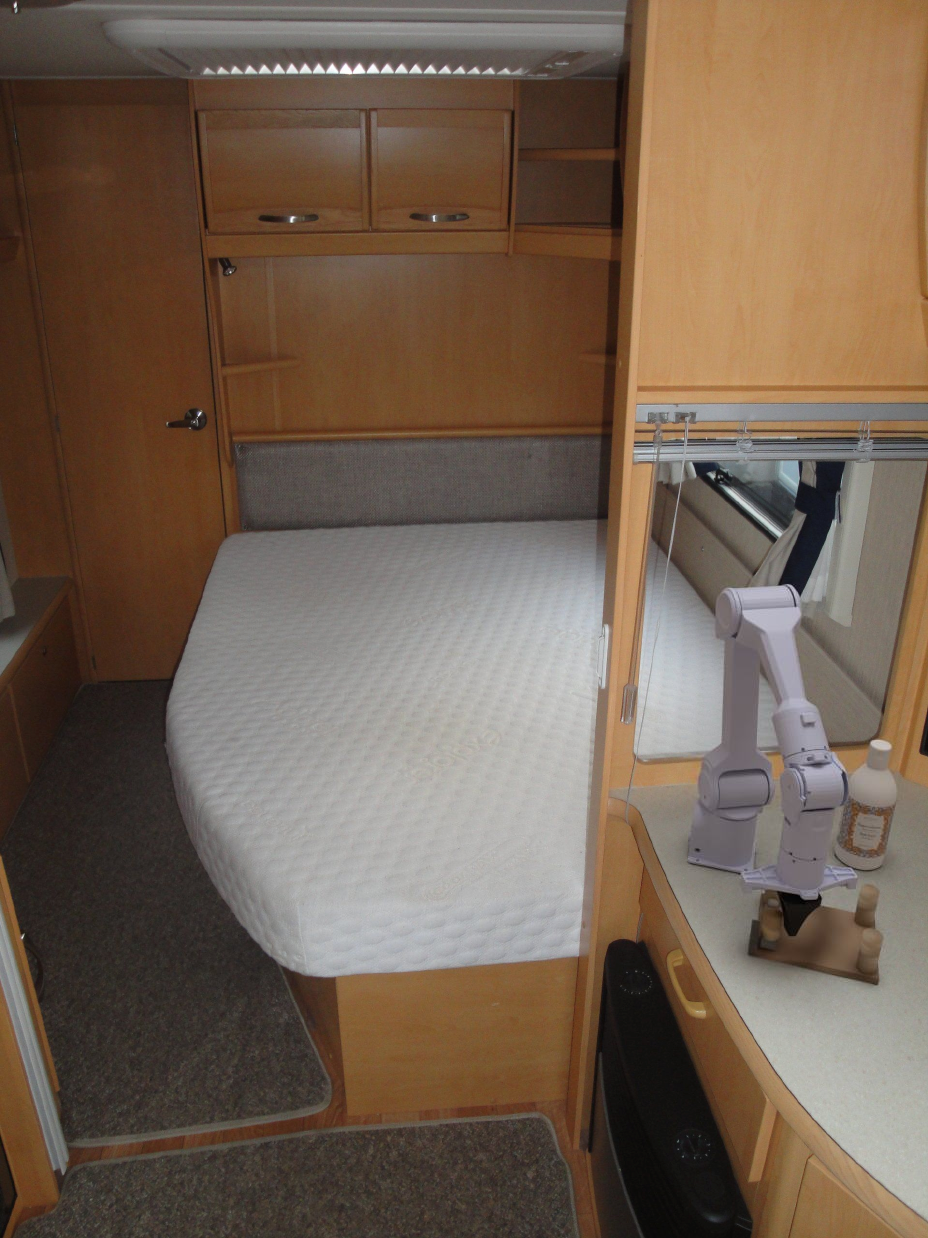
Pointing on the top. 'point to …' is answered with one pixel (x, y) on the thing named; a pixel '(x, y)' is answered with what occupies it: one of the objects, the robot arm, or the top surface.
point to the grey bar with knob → (771, 925)
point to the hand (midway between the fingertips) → (789, 931)
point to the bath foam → (868, 811)
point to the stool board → (828, 939)
